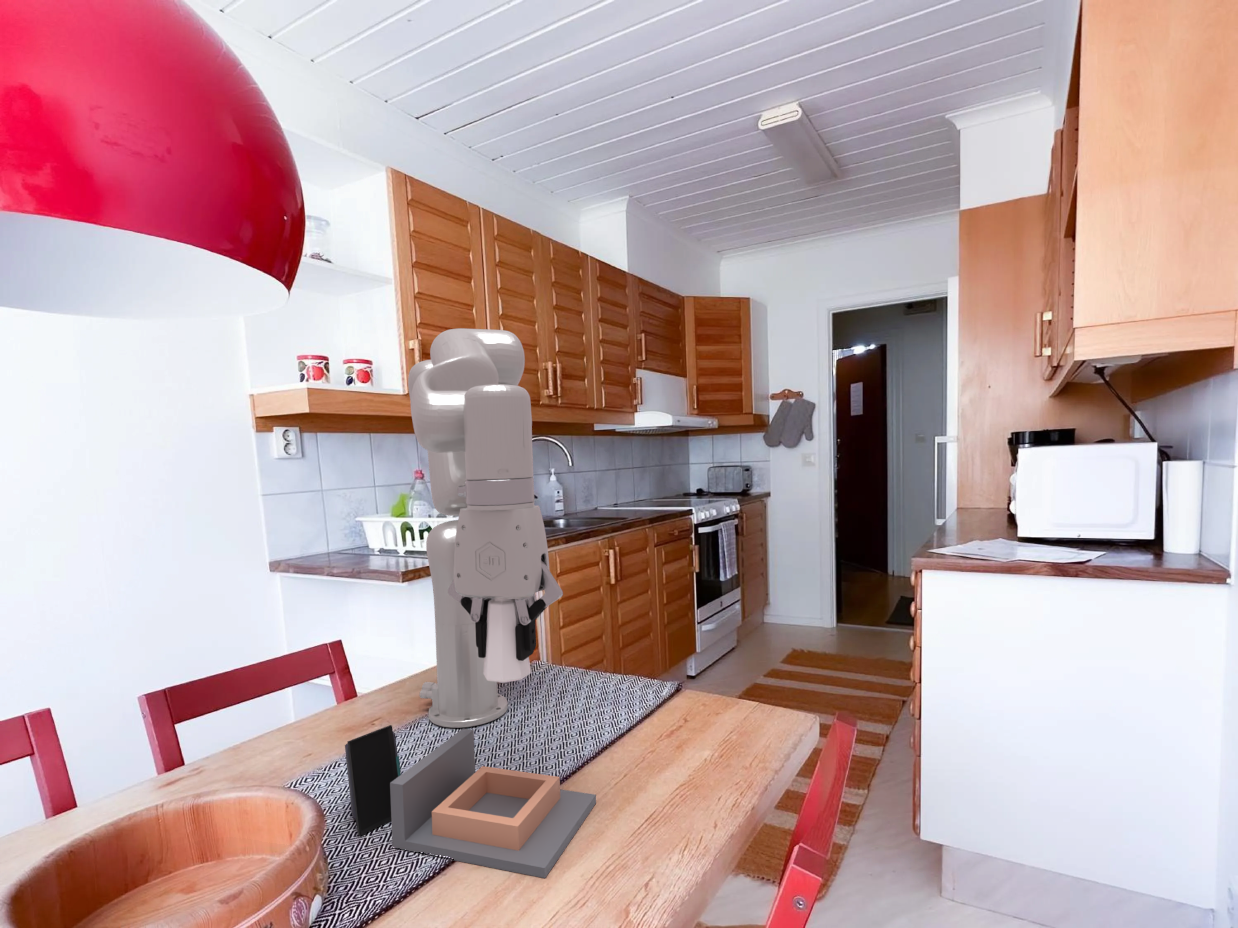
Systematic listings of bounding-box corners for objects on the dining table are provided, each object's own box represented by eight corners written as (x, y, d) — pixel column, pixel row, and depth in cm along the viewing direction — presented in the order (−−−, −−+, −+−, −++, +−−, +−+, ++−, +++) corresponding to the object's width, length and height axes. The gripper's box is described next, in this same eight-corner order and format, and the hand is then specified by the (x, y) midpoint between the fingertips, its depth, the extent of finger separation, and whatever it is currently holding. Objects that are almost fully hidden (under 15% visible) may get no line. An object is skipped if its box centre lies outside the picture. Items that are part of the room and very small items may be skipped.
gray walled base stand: (392, 847, 68) (389, 782, 68) (464, 782, 81) (462, 728, 81) (545, 878, 62) (542, 806, 62) (596, 802, 75) (593, 744, 75)
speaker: (411, 818, 73) (401, 727, 73) (358, 838, 70) (348, 742, 70) (399, 796, 79) (389, 712, 80) (349, 812, 76) (340, 725, 77)
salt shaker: (488, 666, 75) (485, 574, 75) (534, 665, 75) (531, 572, 75) (477, 683, 69) (474, 583, 69) (527, 682, 69) (523, 582, 69)
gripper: (417, 498, 71) (423, 661, 71) (555, 496, 66) (562, 671, 66) (454, 493, 78) (459, 641, 78) (581, 491, 73) (587, 649, 73)
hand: (506, 653), depth 72 cm, fingers closed on salt shaker, 4 cm apart
